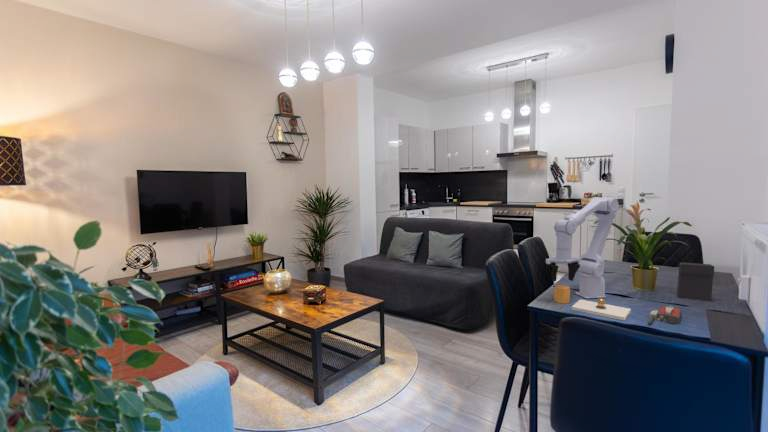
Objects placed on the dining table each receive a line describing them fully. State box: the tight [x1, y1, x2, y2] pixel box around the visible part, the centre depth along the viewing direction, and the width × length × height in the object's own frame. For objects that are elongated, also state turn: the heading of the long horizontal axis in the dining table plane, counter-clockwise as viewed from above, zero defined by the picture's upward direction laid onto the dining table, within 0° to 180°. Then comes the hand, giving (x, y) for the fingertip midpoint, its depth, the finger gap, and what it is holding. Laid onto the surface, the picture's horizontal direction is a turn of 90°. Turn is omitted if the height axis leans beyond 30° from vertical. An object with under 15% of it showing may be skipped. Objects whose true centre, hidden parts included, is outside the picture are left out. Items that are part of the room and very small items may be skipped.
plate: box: [570, 297, 632, 322], centre depth 148 cm, size 18×12×5 cm, turn 48°
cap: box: [553, 283, 571, 304], centre depth 159 cm, size 6×6×6 cm
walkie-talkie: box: [647, 305, 683, 325], centre depth 138 cm, size 9×4×20 cm
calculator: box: [676, 262, 715, 301], centre depth 161 cm, size 11×4×15 cm, turn 65°
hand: (562, 280), depth 159 cm, fingers open, 7 cm apart
